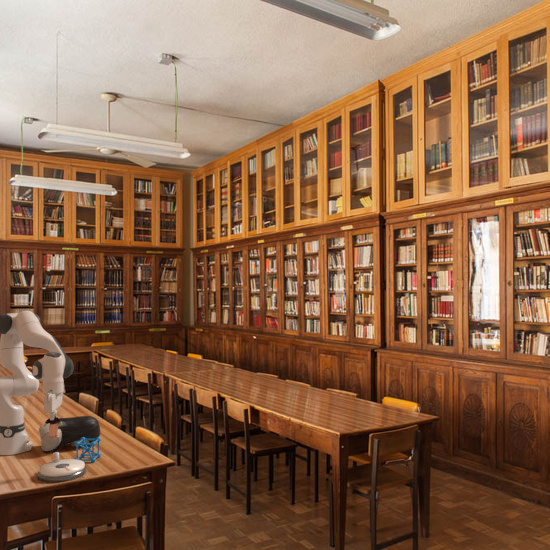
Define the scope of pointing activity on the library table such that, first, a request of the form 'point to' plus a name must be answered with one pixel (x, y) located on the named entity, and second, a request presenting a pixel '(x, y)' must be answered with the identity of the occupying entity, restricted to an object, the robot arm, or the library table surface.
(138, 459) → the library table surface
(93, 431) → the head bust
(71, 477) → the turntable base
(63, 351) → the robot arm
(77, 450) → the molecular structure
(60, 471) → the turntable
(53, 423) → the grandmother figurine
